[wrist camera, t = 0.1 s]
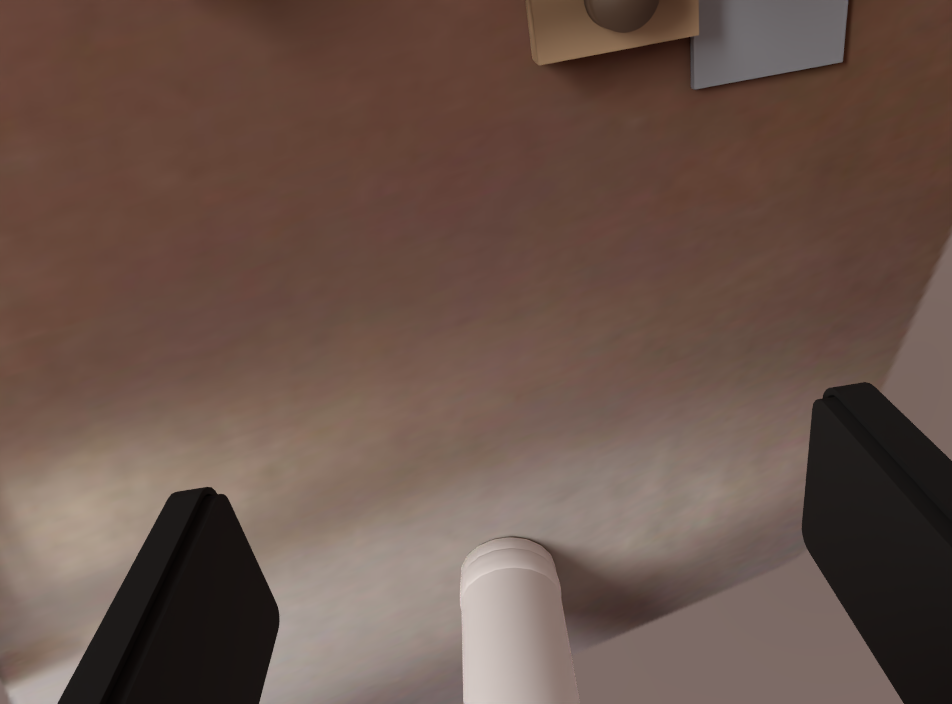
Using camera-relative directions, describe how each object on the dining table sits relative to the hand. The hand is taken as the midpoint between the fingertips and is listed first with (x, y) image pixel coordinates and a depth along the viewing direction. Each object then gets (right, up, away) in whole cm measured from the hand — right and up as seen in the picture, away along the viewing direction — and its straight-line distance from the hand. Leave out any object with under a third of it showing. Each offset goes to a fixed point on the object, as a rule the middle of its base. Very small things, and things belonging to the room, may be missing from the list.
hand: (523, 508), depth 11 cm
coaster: (+14, +21, +24) cm, 35 cm away
